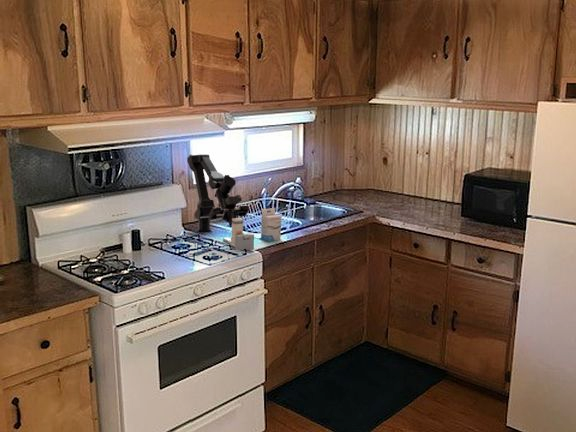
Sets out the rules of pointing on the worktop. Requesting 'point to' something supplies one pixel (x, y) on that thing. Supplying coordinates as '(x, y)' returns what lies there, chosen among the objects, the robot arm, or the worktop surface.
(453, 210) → the worktop surface
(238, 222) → the cream bottle
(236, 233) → the gauge plunger
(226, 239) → the steel rail
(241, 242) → the gauge cabinet
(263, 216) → the ink box
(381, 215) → the worktop surface
